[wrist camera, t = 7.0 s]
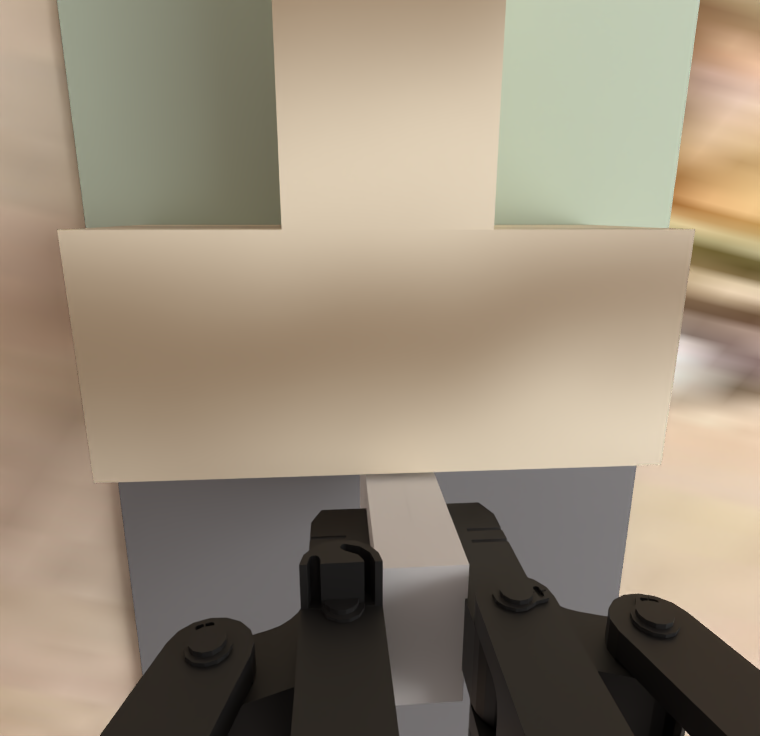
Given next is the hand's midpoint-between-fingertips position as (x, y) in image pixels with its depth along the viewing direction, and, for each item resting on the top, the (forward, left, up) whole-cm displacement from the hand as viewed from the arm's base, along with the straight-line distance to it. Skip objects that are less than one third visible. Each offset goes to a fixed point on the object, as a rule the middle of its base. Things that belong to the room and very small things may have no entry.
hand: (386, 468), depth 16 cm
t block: (+8, 0, -2) cm, 8 cm away
